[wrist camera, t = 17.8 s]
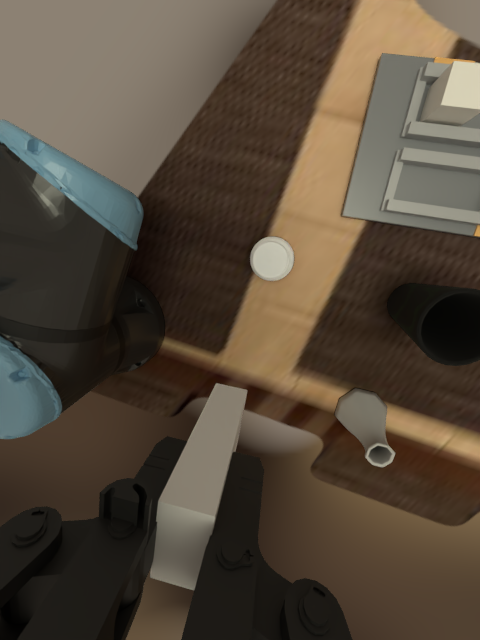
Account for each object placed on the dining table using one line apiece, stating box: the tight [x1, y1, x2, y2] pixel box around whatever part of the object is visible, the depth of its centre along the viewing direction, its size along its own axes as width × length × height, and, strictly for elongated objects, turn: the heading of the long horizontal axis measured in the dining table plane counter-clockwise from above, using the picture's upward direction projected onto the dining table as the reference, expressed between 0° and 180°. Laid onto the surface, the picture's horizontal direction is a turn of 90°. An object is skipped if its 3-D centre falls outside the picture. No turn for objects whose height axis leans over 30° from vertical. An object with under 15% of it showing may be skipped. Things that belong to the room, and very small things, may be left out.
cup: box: [387, 283, 480, 366], centre depth 34 cm, size 8×8×12 cm
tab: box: [419, 61, 480, 127], centre depth 30 cm, size 4×4×5 cm
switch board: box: [341, 53, 480, 238], centre depth 33 cm, size 25×17×3 cm
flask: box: [334, 388, 395, 467], centre depth 39 cm, size 7×7×10 cm
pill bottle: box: [250, 236, 294, 281], centre depth 36 cm, size 5×5×9 cm
